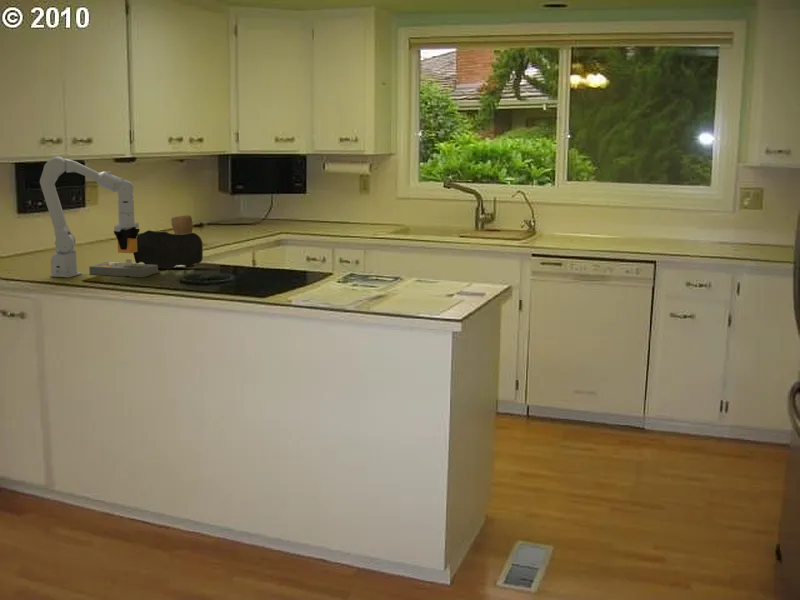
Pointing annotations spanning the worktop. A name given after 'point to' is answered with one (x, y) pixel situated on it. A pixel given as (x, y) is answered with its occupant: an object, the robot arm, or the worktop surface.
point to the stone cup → (182, 224)
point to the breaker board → (123, 269)
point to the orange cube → (129, 246)
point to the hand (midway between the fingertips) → (127, 248)
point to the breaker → (128, 263)
